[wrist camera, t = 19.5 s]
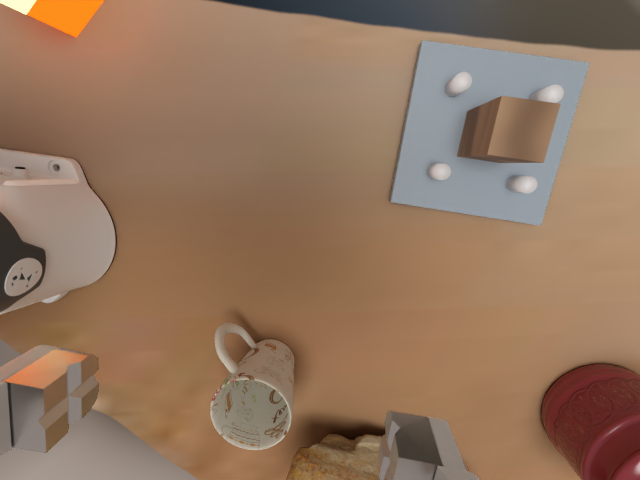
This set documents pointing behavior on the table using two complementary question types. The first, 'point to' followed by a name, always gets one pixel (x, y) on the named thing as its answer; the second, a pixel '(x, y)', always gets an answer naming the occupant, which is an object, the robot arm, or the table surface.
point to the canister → (596, 421)
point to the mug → (254, 392)
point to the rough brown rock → (337, 459)
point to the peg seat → (448, 121)
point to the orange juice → (58, 12)
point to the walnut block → (508, 130)
